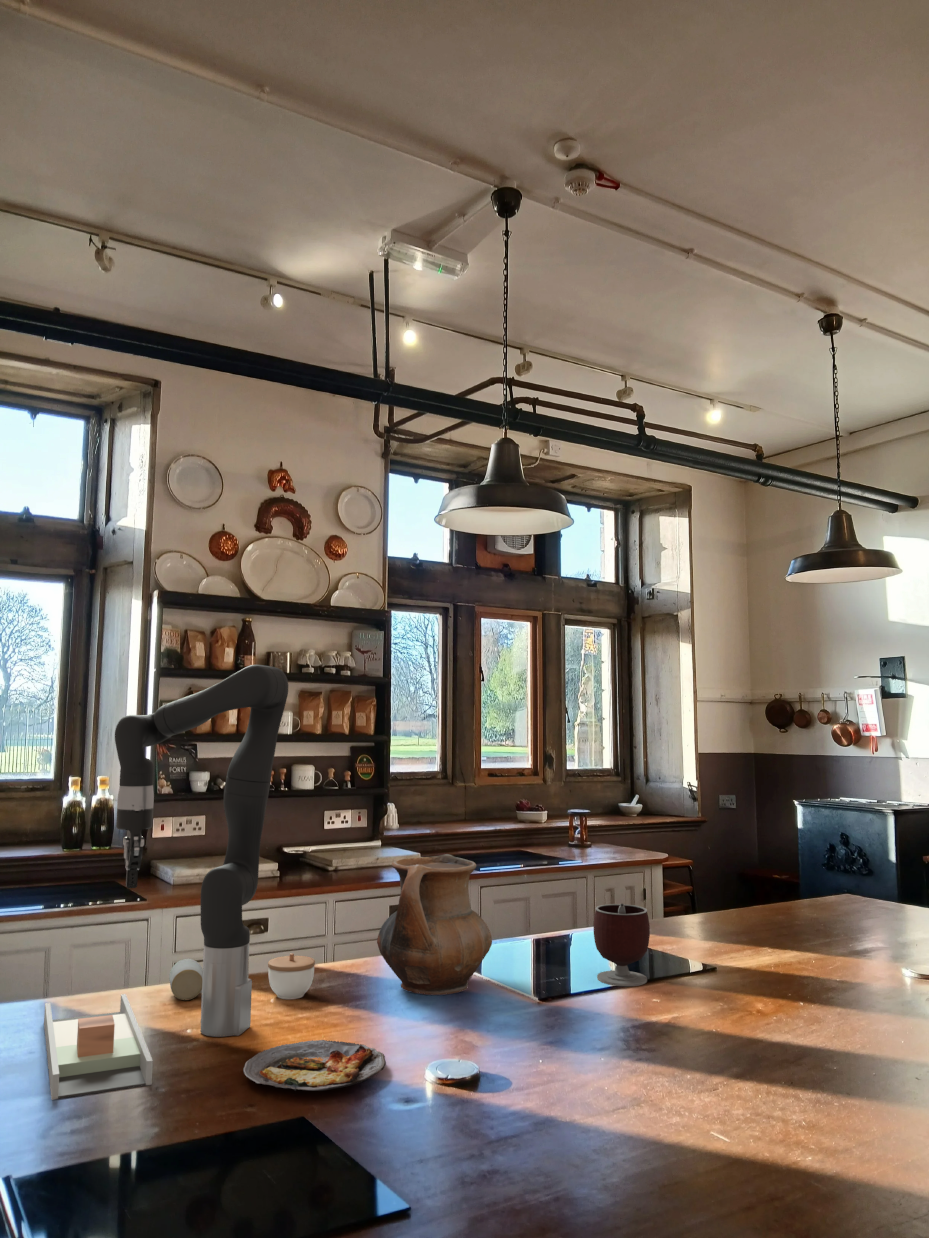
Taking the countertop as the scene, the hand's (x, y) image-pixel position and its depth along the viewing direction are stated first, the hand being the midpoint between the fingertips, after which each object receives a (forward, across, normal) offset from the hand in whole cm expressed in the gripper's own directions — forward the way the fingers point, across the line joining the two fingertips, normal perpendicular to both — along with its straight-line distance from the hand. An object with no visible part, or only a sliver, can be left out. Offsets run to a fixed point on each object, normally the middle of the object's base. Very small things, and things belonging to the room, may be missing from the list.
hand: (131, 887), depth 201 cm
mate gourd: (+27, +19, +115) cm, 119 cm away
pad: (+27, +27, -8) cm, 39 cm away
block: (+24, +26, -8) cm, 37 cm away
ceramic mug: (+27, -10, +16) cm, 33 cm away
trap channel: (+27, +19, -8) cm, 34 cm away
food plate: (+28, +48, +28) cm, 62 cm away
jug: (+27, +4, +70) cm, 76 cm away
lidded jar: (+27, -1, +36) cm, 45 cm away
